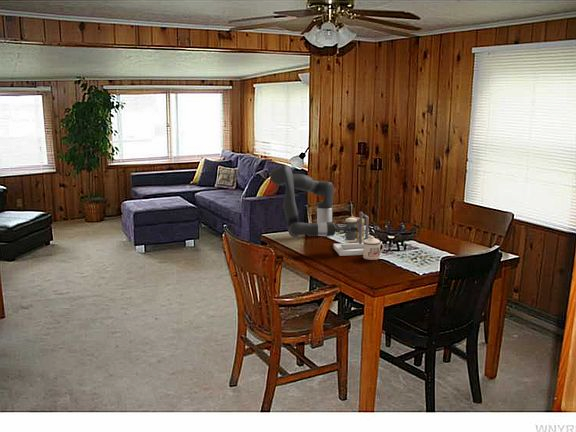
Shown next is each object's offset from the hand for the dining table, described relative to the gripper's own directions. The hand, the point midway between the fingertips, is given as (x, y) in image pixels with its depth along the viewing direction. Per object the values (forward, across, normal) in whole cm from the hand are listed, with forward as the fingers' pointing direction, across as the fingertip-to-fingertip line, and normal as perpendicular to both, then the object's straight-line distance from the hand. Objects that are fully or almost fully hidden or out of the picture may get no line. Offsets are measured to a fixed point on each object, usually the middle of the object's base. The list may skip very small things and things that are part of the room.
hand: (355, 228), depth 308 cm
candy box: (+5, +16, +13) cm, 21 cm away
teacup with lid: (+7, -14, +13) cm, 20 cm away
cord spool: (-3, 0, +7) cm, 7 cm away
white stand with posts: (0, 0, +13) cm, 13 cm away
